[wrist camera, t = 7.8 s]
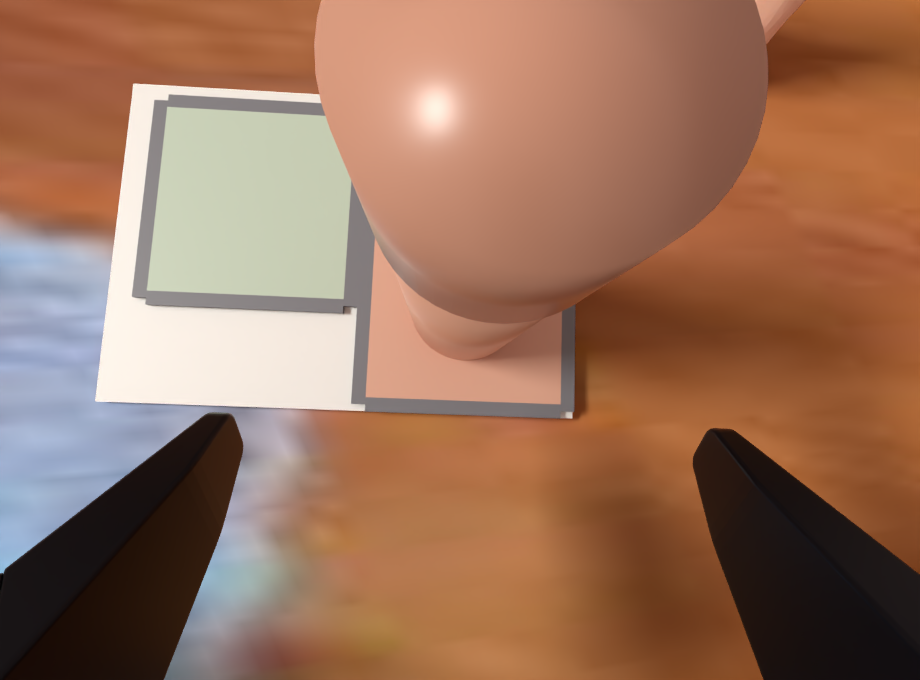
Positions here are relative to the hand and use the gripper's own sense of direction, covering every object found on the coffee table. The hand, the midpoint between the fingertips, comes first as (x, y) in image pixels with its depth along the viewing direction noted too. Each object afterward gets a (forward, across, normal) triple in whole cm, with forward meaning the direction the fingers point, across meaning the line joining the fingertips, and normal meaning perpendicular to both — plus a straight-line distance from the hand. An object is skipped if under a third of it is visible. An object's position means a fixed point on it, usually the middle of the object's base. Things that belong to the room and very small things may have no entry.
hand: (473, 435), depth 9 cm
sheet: (+10, +4, +2) cm, 11 cm away
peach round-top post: (+8, 0, +3) cm, 9 cm away
